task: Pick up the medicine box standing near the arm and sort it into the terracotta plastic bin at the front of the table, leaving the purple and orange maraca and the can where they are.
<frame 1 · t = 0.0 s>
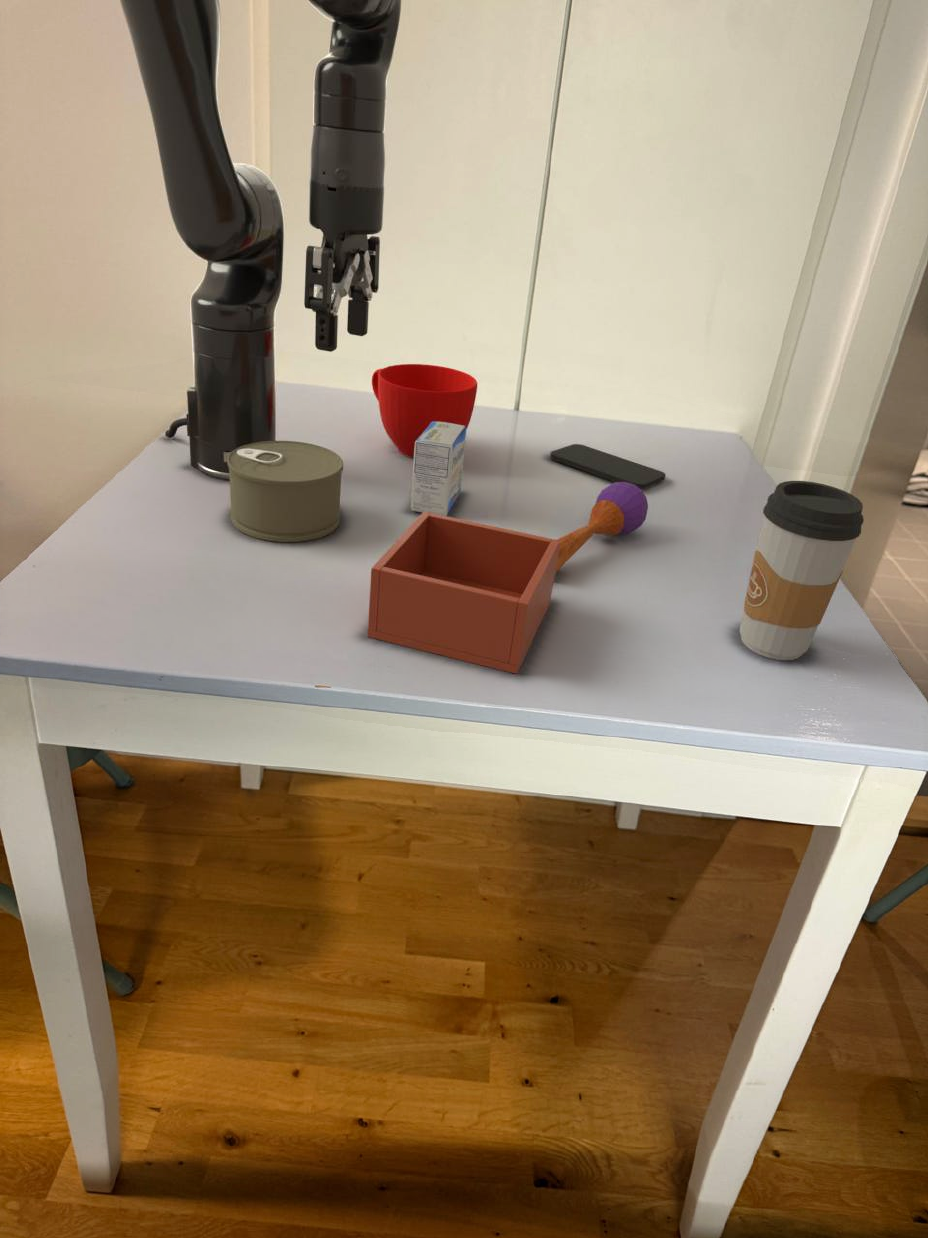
hand: (342, 342, 98), 17 cm above the table, tool pointing down, fingers open, 8 cm apart
coffee cup: (771, 645, 85), on the table
medicine box: (435, 504, 106), on the table
phone: (606, 469, 122), on the table
bin: (463, 619, 83), on the table
can: (285, 521, 98), on the table
ceramic cup: (412, 447, 122), on the table
purple and orange maraca: (586, 551, 99), on the table
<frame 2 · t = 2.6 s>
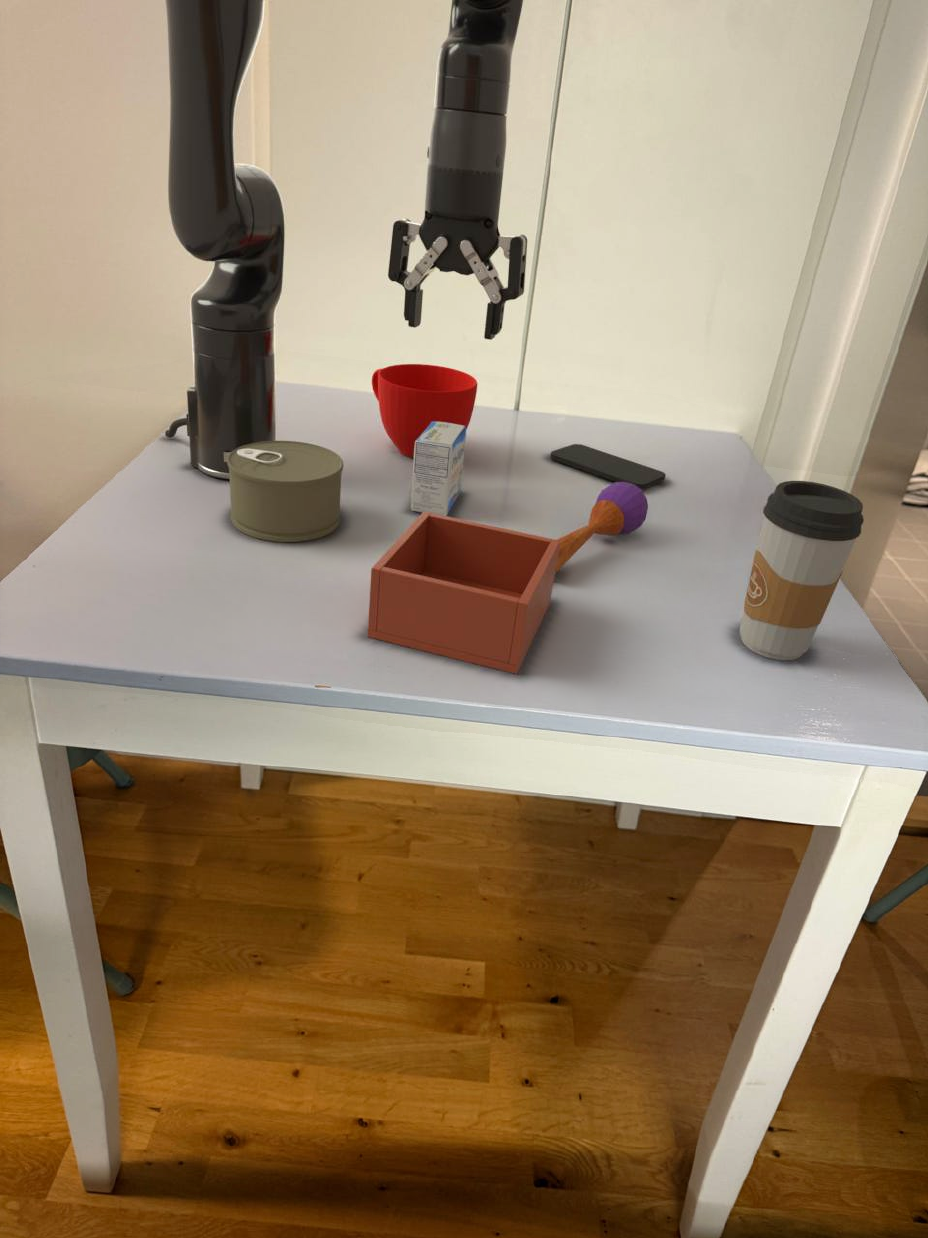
hand: (451, 331, 96), 20 cm above the table, tool pointing down, fingers open, 8 cm apart
nothing on the table moved.
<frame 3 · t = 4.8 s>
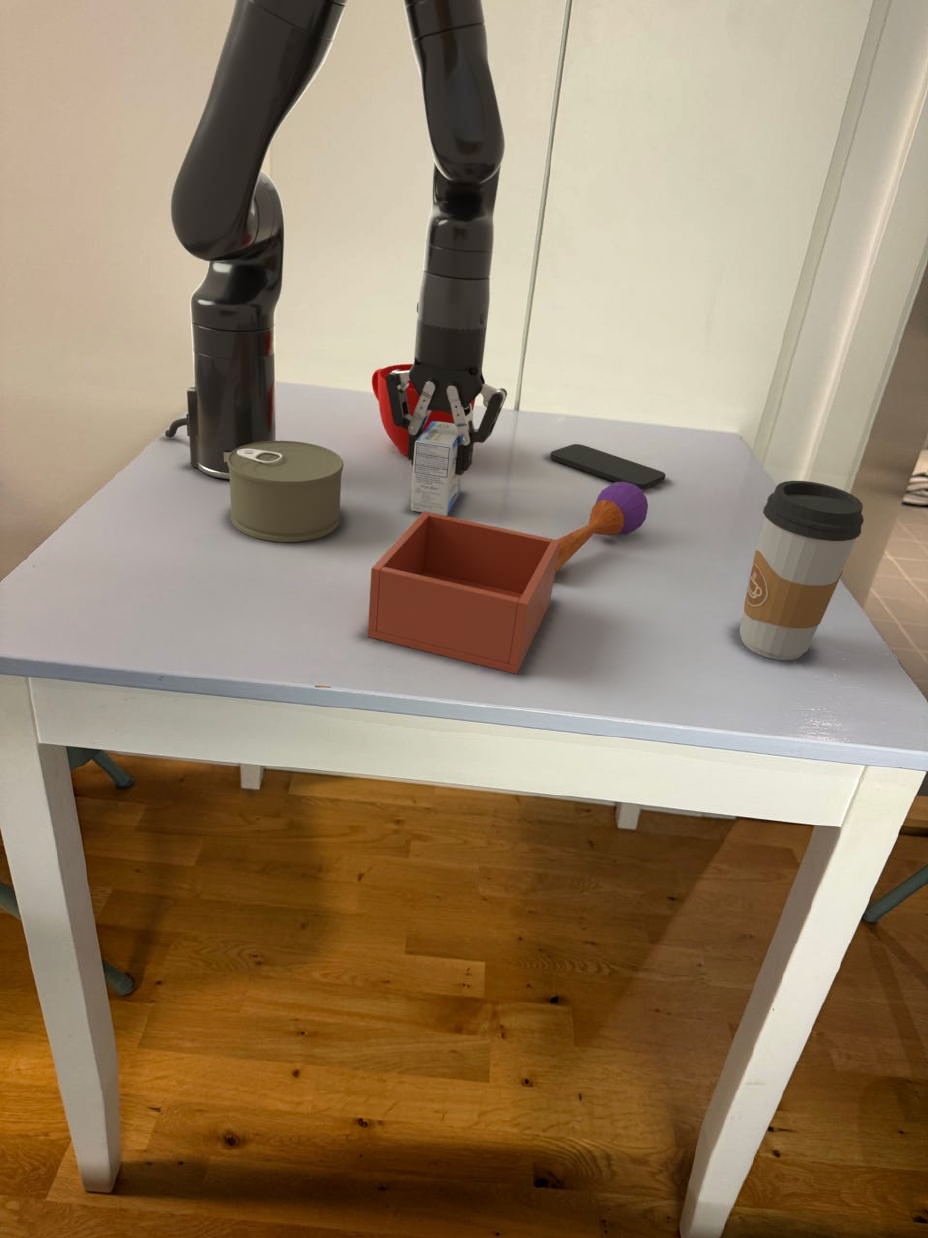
hand: (438, 467, 104), 4 cm above the table, tool pointing down, fingers closed on medicine box, 4 cm apart
medicine box: (435, 504, 106), on the table, touching gripper
everything else where it was.
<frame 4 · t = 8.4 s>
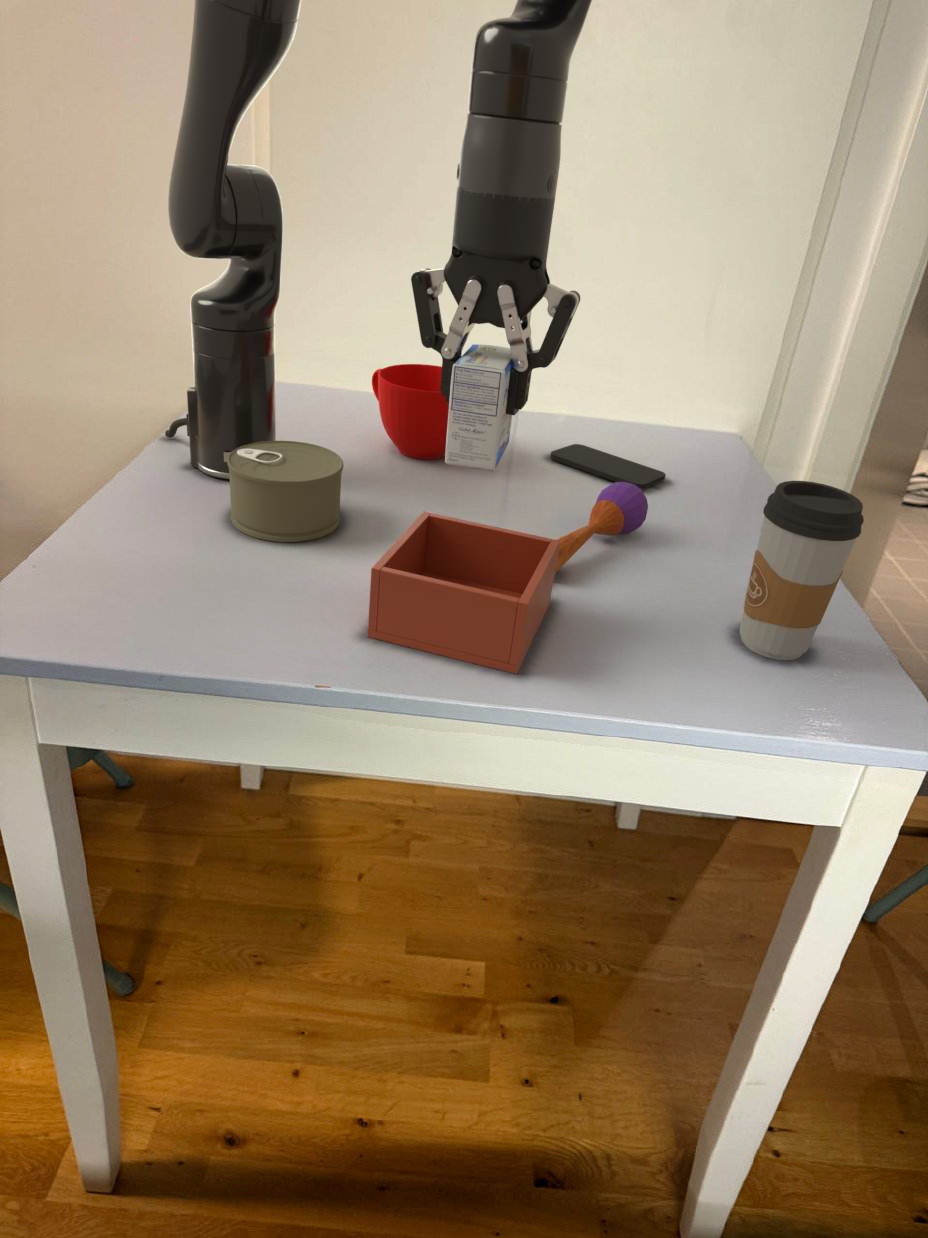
hand: (482, 406, 76), 19 cm above the table, tool pointing down, fingers closed on medicine box, 4 cm apart
medicine box: (476, 456, 79), point 15 cm above the table, touching gripper
everything else where it was.
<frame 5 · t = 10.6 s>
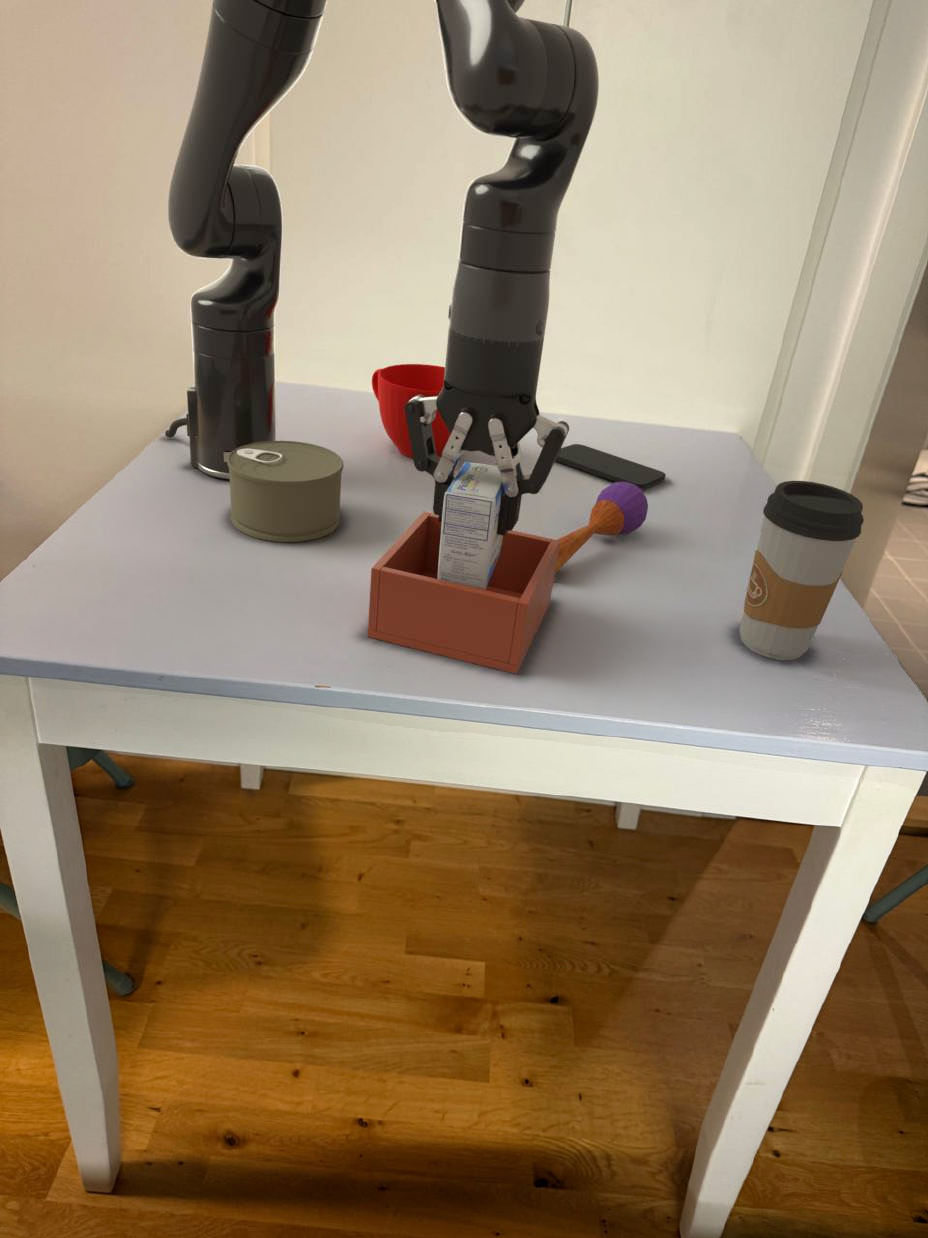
hand: (473, 524, 78), 10 cm above the table, tool pointing down, fingers closed on medicine box, 4 cm apart
medicine box: (469, 571, 80), point 5 cm above the table, touching gripper
everything else where it was.
when the fingers open (5 cm above the table, at t = 12.2 s): medicine box stays where it is, resting on bin.
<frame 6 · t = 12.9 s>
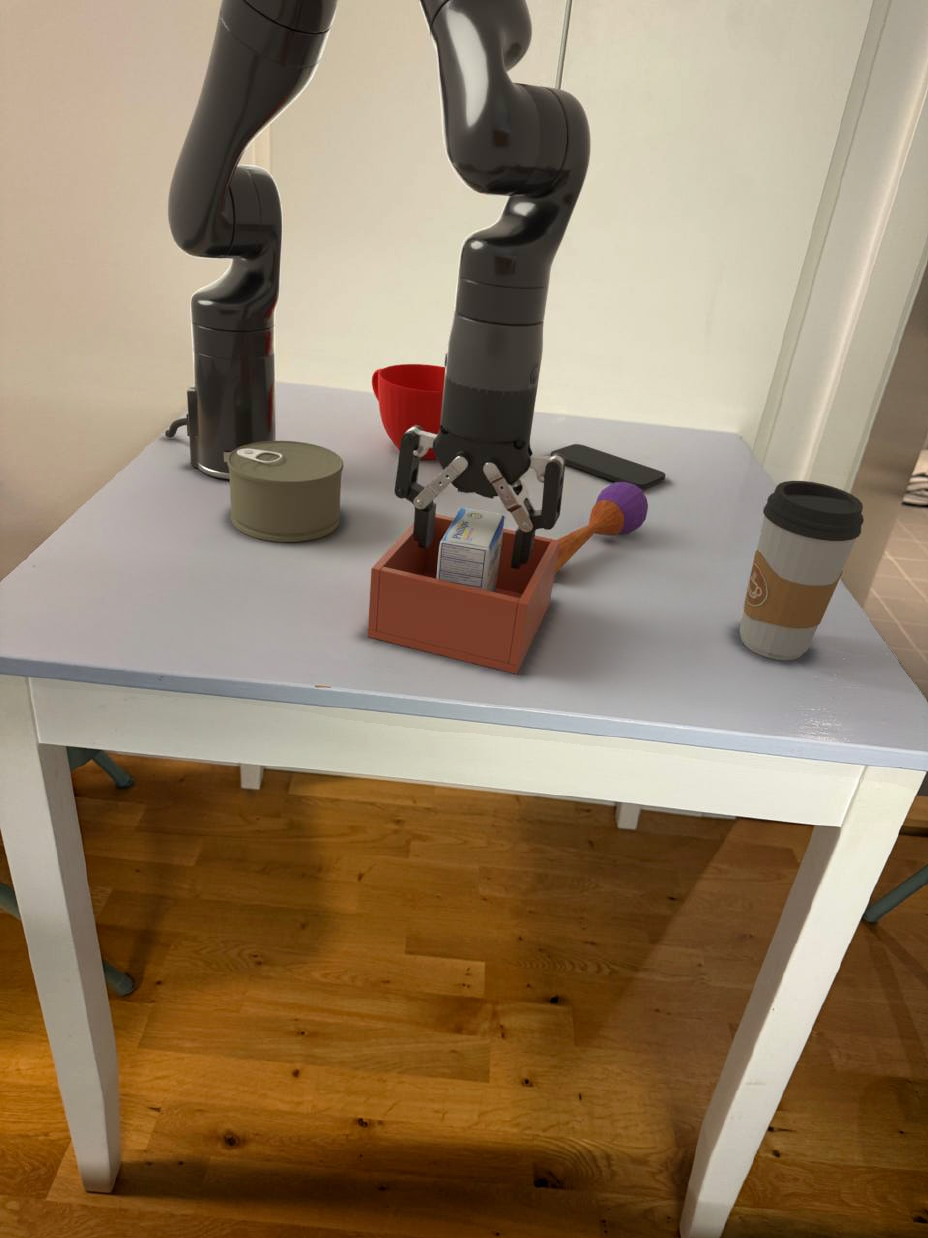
hand: (470, 555, 80), 7 cm above the table, tool pointing down, fingers open, 8 cm apart
medicine box: (464, 613, 83), point 1 cm above the table, touching bin
everything else where it was.
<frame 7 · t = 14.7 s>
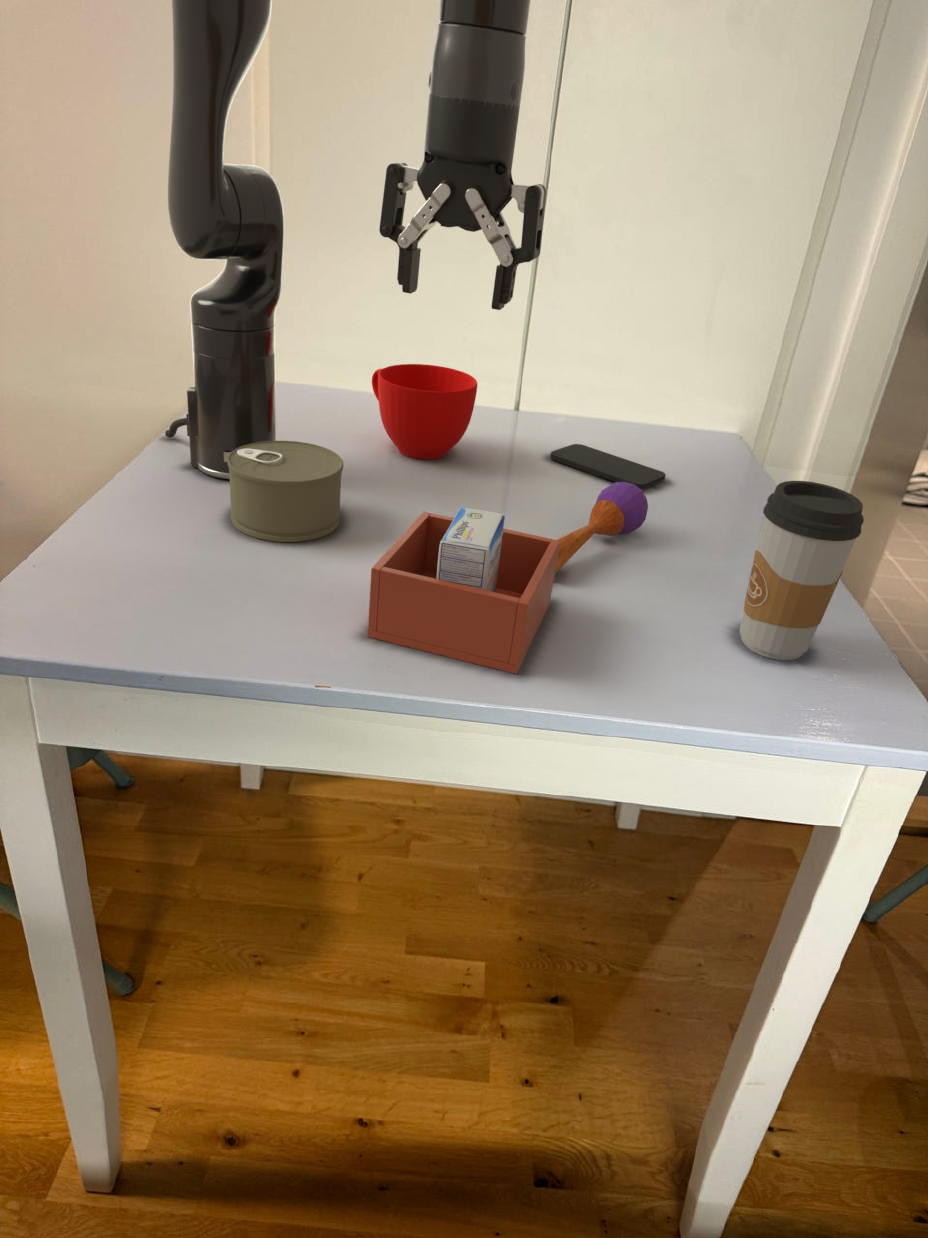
hand: (453, 299, 82), 26 cm above the table, tool pointing down, fingers open, 8 cm apart
nothing on the table moved.
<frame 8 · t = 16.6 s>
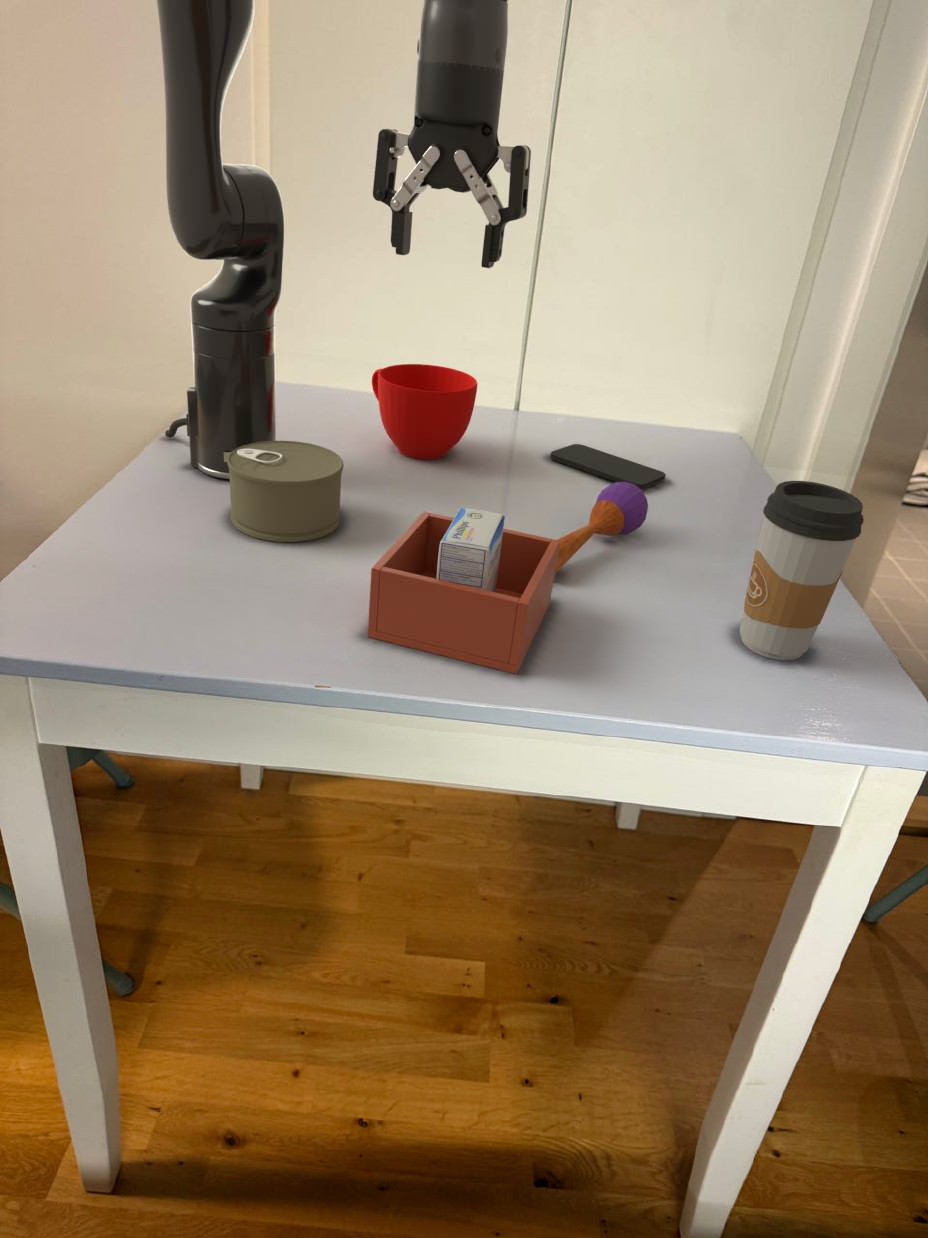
hand: (444, 260, 85), 28 cm above the table, tool pointing down, fingers open, 8 cm apart
nothing on the table moved.
at the end: medicine box inside the target area in the bin (0.1 cm from its centre), point 0.6 cm above the bin's base; medicine box tilted 0°; the gripper is holding nothing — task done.
